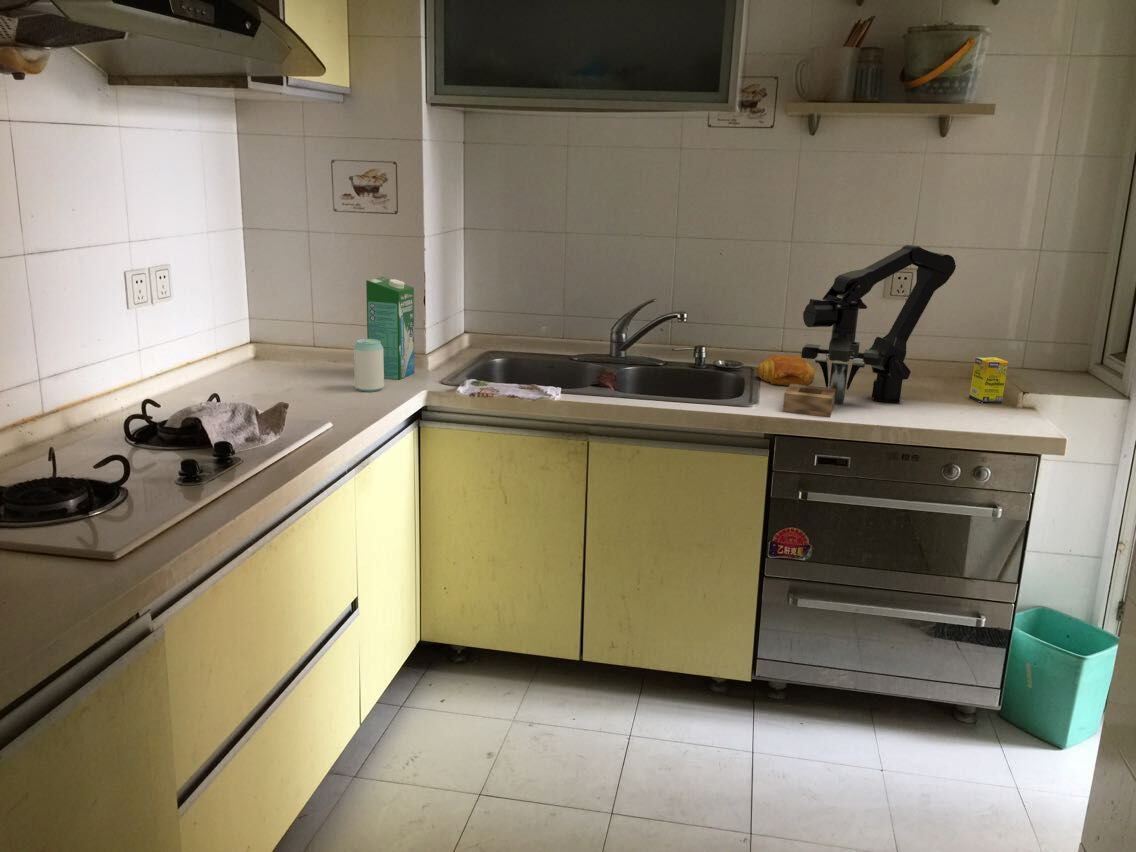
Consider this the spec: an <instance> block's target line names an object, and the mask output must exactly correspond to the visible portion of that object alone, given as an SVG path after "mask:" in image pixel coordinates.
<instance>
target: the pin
mask: <svg viewBox="0 0 1136 852" xmlns="http://www.w3.org/2000/svg"><path fill="white" fill-rule="evenodd" d="M848 370H849V362H843V361H837V360H835V361H831V367H830V374H829V384H828V388H834V389H836V393H835V401H834V405H843V404H845V395H846V390H847V382H848V373H849V372H848Z"/></svg>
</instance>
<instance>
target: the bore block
mask: <svg viewBox="0 0 1136 852" xmlns="http://www.w3.org/2000/svg"><path fill="white" fill-rule="evenodd" d="M835 393H836V389H834V388H829V387H828V388H827V387H826V386H825V387H824V386H816V385H815V386H814V385H798V384H790V385H789V386H787V389H786V390H785V392H784V395H783V405H782V412H785V413H793V414H800V413H802V415H809V416H810V415H811V416H816V417H817V416H818V417H825V418H826V417H827V418H830V417H831V415H832V413H833V410H834V408H833V407H835V404H834V401H835Z"/></svg>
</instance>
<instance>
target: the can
mask: <svg viewBox="0 0 1136 852" xmlns="http://www.w3.org/2000/svg"><path fill="white" fill-rule="evenodd" d="M355 342H356V344H355V345H354V347H353V367H354V373H353V374H354V375H353V376H354V388H356V389H357V390H358V391H361V392H370V393H371V392H378V391H380V390H381V389H383V388H384V386H385V378H384V357H383V346H382V345H381V343H380V342H381V341H380V340H376V339H367V338H361V339H358V340H356V341H355Z"/></svg>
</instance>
